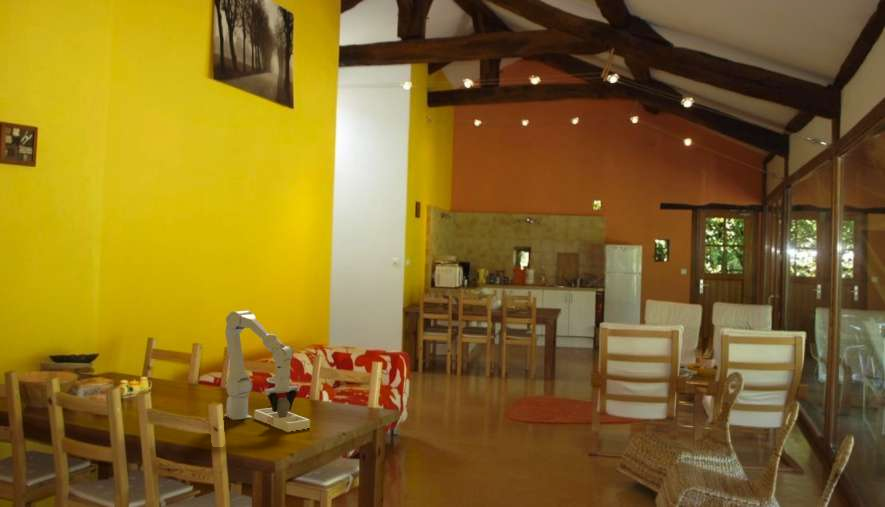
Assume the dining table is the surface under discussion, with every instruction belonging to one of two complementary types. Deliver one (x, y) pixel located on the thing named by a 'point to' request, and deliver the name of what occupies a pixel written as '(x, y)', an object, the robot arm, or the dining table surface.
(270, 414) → the rack
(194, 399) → the dining table surface
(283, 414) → the light bulb
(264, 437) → the dining table surface
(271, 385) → the plastic cup
